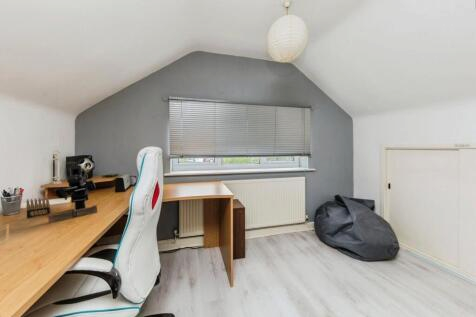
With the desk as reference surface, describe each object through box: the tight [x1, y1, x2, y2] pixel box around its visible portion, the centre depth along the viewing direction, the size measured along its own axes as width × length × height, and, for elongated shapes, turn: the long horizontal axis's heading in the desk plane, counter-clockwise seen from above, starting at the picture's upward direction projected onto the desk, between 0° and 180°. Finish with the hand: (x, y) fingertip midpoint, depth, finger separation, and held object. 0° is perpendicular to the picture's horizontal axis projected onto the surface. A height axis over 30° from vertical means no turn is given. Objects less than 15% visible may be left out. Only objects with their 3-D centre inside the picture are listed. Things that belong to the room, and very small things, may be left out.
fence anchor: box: [71, 204, 98, 219], centre depth 125 cm, size 2×12×5 cm, turn 139°
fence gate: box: [47, 210, 73, 224], centre depth 116 cm, size 2×10×4 cm, turn 139°
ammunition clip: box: [25, 196, 52, 219], centre depth 124 cm, size 11×2×12 cm, turn 127°
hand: (75, 197), depth 116 cm, fingers open, 9 cm apart
